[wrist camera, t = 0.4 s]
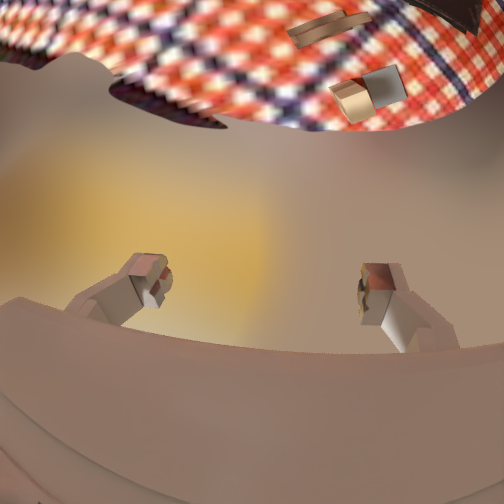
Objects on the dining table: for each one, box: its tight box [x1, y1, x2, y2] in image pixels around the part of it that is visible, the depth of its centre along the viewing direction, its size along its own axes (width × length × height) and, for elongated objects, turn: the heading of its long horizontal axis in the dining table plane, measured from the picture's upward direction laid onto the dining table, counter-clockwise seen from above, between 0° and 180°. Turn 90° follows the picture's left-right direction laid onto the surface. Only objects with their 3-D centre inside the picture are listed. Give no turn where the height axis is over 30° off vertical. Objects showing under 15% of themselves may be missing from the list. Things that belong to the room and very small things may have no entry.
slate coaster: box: [361, 65, 407, 109], centre depth 43 cm, size 8×8×1 cm
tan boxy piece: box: [328, 79, 377, 124], centre depth 42 cm, size 5×5×11 cm
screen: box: [286, 10, 372, 49], centre depth 32 cm, size 12×4×14 cm, turn 121°
